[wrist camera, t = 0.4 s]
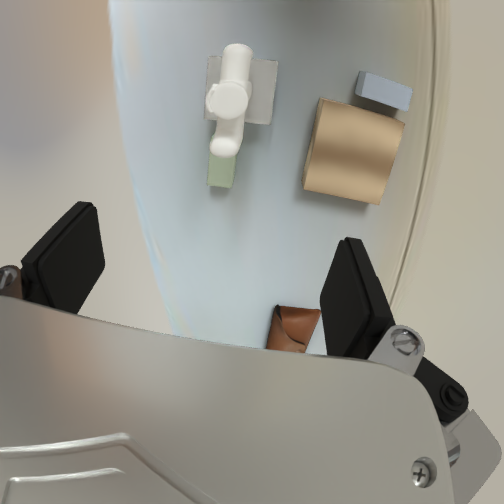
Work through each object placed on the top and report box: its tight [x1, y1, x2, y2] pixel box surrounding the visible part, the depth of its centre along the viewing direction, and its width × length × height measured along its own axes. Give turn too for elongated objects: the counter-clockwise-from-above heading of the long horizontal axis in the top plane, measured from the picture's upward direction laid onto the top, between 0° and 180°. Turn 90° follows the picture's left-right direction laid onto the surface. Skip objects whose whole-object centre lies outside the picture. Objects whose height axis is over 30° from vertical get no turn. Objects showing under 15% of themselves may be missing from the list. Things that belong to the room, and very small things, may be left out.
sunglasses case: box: [266, 305, 321, 353], centre depth 55 cm, size 18×7×7 cm, turn 175°
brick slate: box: [354, 71, 413, 112], centre depth 29 cm, size 6×3×3 cm, turn 81°
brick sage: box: [207, 133, 237, 188], centre depth 36 cm, size 6×3×3 cm, turn 172°
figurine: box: [204, 44, 278, 158], centre depth 26 cm, size 7×9×15 cm
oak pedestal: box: [301, 98, 405, 205], centre depth 34 cm, size 11×10×3 cm
